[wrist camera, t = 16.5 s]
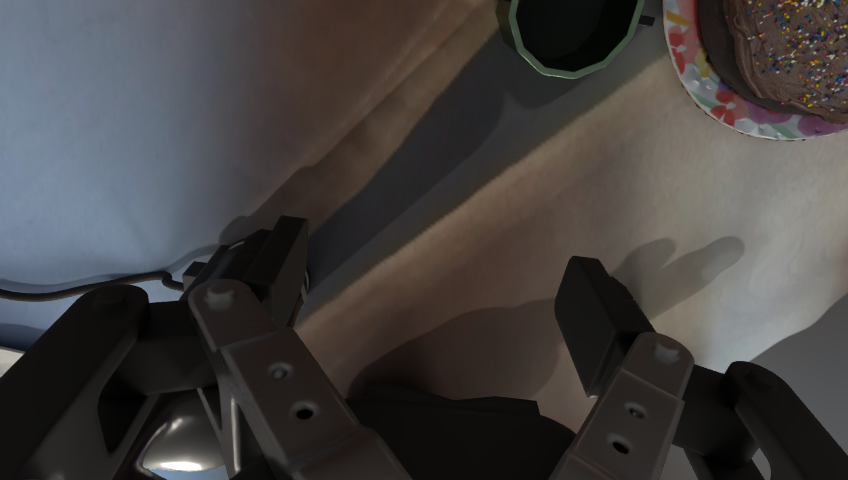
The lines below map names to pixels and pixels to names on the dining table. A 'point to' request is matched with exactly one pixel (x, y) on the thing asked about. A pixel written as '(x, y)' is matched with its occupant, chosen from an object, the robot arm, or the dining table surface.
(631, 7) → the cooking pot
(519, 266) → the dining table surface
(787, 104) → the chocolate cake
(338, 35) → the dining table surface
